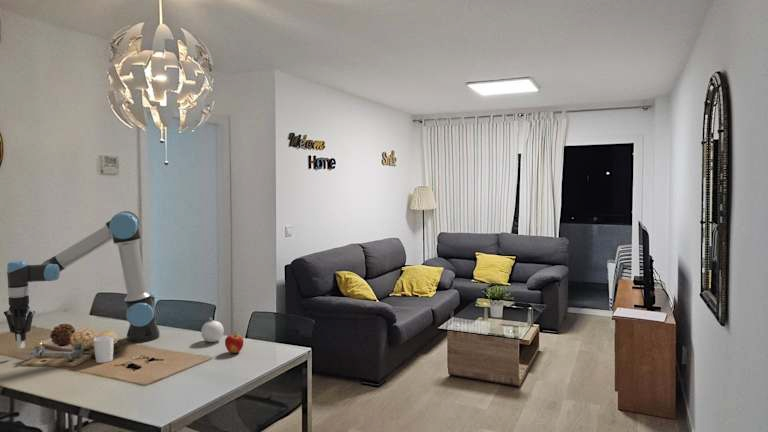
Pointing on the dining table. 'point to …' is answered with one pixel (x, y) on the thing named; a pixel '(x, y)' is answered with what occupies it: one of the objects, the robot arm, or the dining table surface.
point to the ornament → (212, 331)
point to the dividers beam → (65, 353)
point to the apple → (234, 343)
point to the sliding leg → (36, 350)
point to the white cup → (104, 348)
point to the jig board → (55, 361)
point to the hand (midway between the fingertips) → (21, 347)
